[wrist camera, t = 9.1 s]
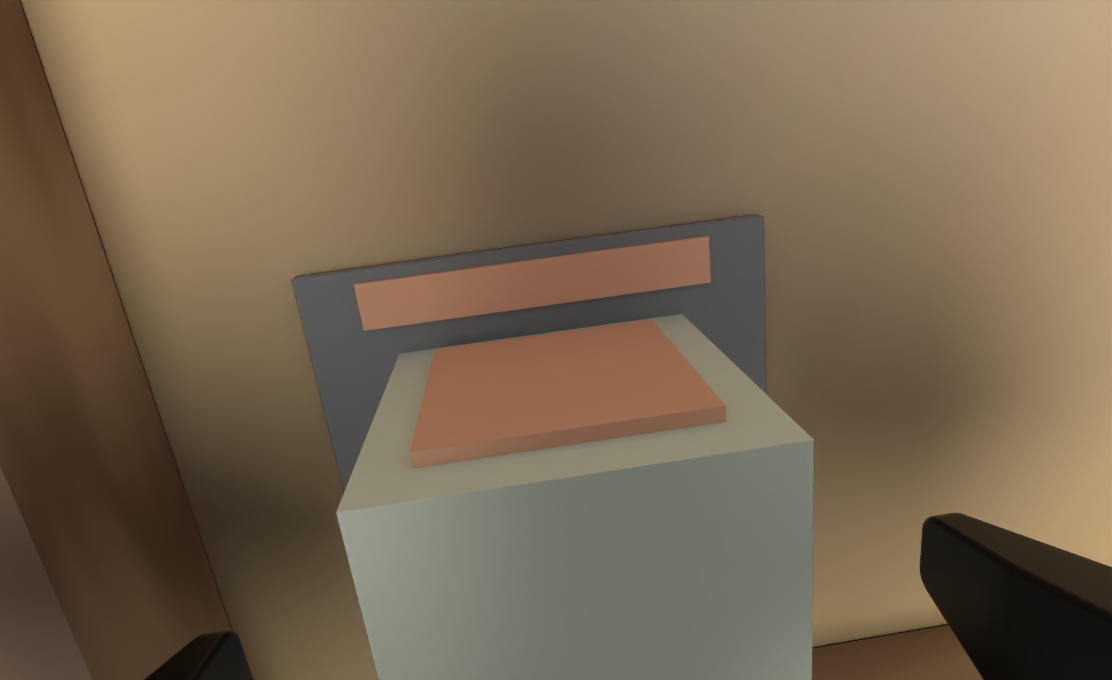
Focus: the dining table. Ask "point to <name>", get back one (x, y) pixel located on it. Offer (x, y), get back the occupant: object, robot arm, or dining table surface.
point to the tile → (527, 305)
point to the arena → (137, 445)
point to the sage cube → (582, 513)
